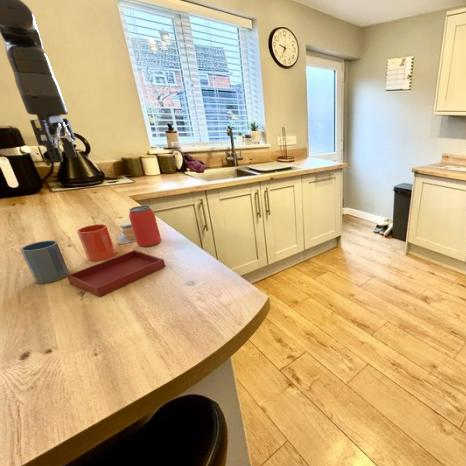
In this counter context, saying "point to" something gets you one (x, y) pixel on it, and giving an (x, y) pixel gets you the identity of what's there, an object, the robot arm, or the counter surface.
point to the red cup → (96, 242)
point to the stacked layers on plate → (126, 232)
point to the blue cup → (45, 261)
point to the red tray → (115, 272)
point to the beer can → (144, 225)
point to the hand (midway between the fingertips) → (65, 159)
